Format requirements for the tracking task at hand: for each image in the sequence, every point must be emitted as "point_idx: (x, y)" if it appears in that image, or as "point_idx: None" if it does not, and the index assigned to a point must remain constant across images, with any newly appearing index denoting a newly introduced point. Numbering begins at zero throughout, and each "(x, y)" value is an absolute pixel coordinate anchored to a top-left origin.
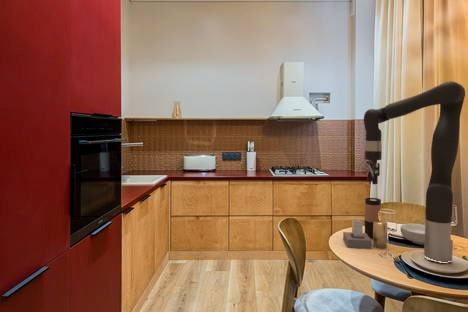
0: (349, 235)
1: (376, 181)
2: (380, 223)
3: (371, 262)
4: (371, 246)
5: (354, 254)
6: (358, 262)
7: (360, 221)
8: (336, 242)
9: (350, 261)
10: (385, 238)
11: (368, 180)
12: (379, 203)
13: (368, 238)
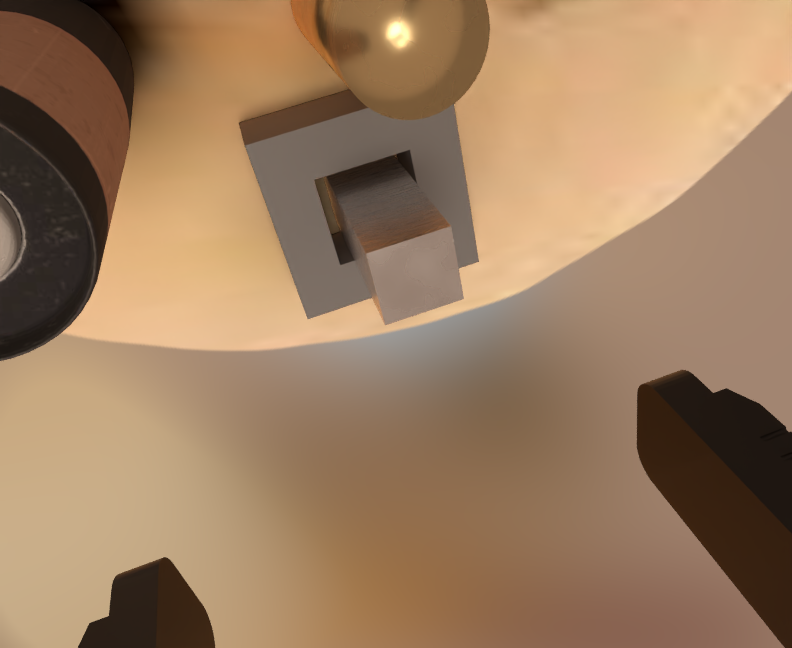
0: None
1: (775, 432)
2: (466, 39)
3: (676, 64)
4: None
5: (566, 176)
6: (684, 141)
7: (450, 246)
8: None
9: (675, 185)
10: None
11: (205, 642)
12: (8, 102)
13: None
